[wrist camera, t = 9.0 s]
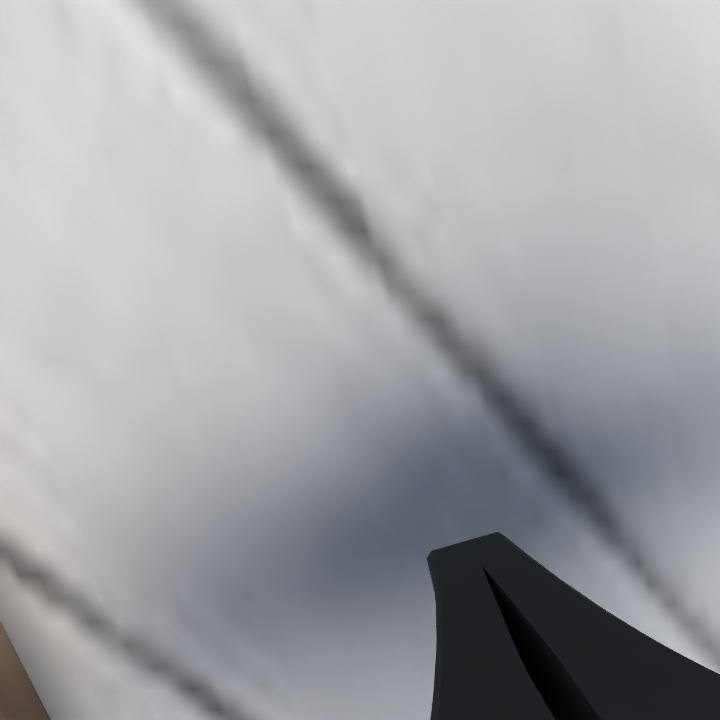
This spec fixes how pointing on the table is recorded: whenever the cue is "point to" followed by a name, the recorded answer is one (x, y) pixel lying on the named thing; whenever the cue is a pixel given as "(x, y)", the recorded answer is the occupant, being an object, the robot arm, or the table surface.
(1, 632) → the block
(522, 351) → the table surface
